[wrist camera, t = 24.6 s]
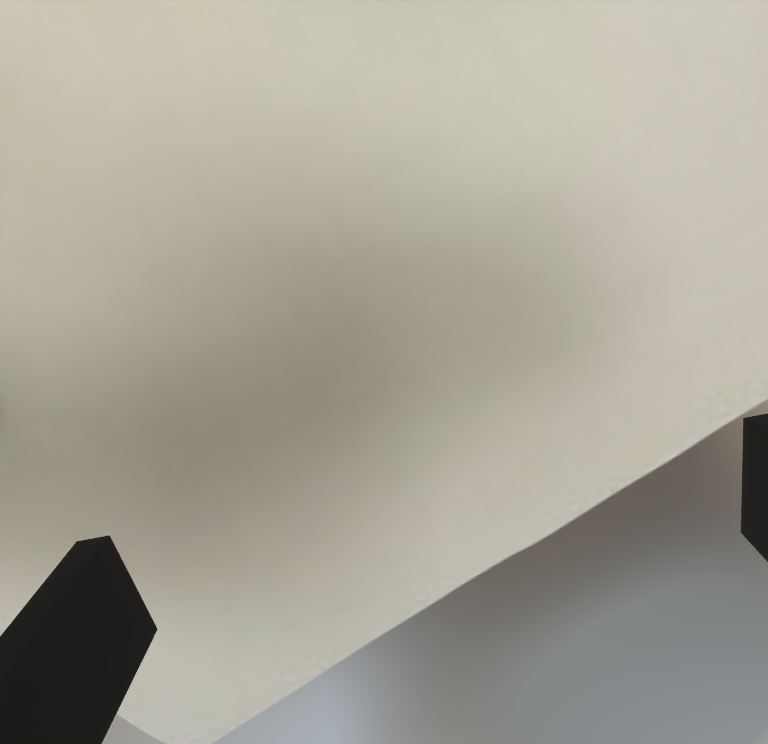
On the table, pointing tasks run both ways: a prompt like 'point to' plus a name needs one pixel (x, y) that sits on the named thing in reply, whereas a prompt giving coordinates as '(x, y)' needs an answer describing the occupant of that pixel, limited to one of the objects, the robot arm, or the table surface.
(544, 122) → the table surface
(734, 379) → the table surface
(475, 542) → the table surface
